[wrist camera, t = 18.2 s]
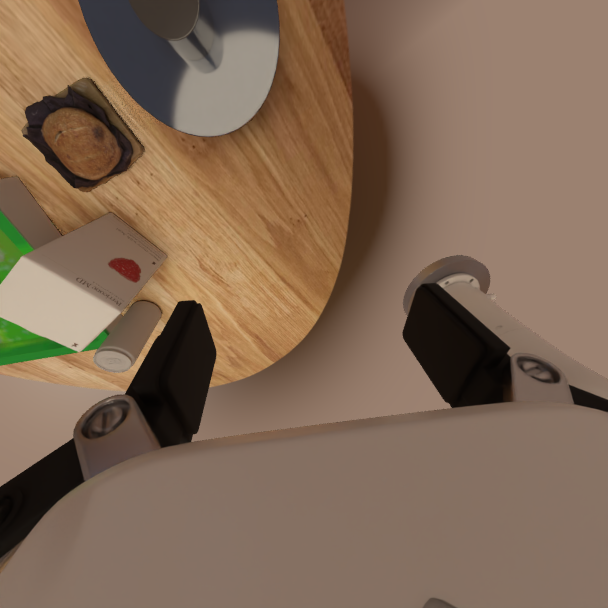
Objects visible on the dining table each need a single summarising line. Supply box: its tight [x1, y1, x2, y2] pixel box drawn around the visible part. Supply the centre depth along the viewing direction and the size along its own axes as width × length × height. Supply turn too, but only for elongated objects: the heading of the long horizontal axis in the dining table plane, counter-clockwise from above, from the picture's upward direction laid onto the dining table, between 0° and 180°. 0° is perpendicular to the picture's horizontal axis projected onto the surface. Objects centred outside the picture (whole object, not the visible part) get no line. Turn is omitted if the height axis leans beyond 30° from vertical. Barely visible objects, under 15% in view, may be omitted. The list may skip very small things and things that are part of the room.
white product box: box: [0, 212, 167, 352], centre depth 30 cm, size 9×9×15 cm
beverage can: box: [93, 301, 161, 373], centre depth 37 cm, size 5×5×12 cm
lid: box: [78, 0, 280, 137], centre depth 16 cm, size 14×14×6 cm
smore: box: [22, 78, 144, 192], centre depth 26 cm, size 11×8×4 cm
